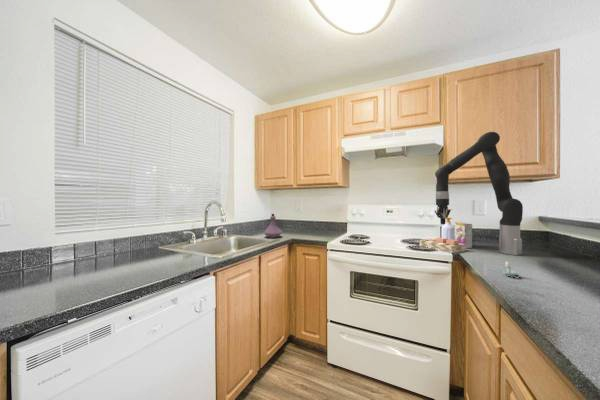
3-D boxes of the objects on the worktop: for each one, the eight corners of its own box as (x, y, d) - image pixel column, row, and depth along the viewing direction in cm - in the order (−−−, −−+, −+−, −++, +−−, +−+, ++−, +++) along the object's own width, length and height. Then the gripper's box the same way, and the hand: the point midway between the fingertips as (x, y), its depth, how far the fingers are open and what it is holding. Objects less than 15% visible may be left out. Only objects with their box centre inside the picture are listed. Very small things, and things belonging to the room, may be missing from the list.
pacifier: (519, 275, 99) (501, 272, 102) (520, 261, 98) (502, 258, 102) (522, 280, 93) (503, 277, 96) (523, 265, 93) (504, 262, 96)
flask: (286, 236, 197) (286, 213, 197) (274, 239, 183) (274, 214, 183) (271, 234, 206) (271, 213, 205) (259, 237, 192) (259, 214, 191)
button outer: (437, 244, 156) (437, 240, 156) (432, 245, 154) (432, 240, 154) (430, 243, 160) (430, 238, 160) (426, 243, 158) (426, 239, 158)
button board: (465, 250, 143) (465, 243, 143) (451, 252, 138) (451, 245, 138) (432, 244, 163) (433, 238, 163) (419, 245, 158) (419, 239, 158)
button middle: (447, 243, 149) (447, 238, 149) (442, 243, 147) (442, 239, 147) (440, 242, 154) (440, 237, 154) (435, 242, 152) (435, 238, 152)
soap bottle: (448, 241, 173) (449, 209, 172) (438, 239, 181) (438, 209, 181) (458, 241, 175) (458, 209, 175) (447, 238, 184) (447, 208, 183)
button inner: (458, 245, 143) (458, 240, 143) (453, 246, 141) (453, 241, 141) (450, 244, 147) (450, 239, 147) (446, 244, 145) (446, 240, 145)
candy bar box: (453, 244, 161) (454, 222, 161) (460, 244, 161) (461, 222, 160) (465, 248, 150) (465, 223, 149) (472, 248, 150) (472, 223, 149)
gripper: (441, 198, 144) (441, 225, 144) (454, 197, 149) (455, 224, 149) (430, 198, 151) (430, 224, 151) (443, 198, 156) (444, 223, 156)
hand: (443, 224), depth 150 cm, fingers closed
